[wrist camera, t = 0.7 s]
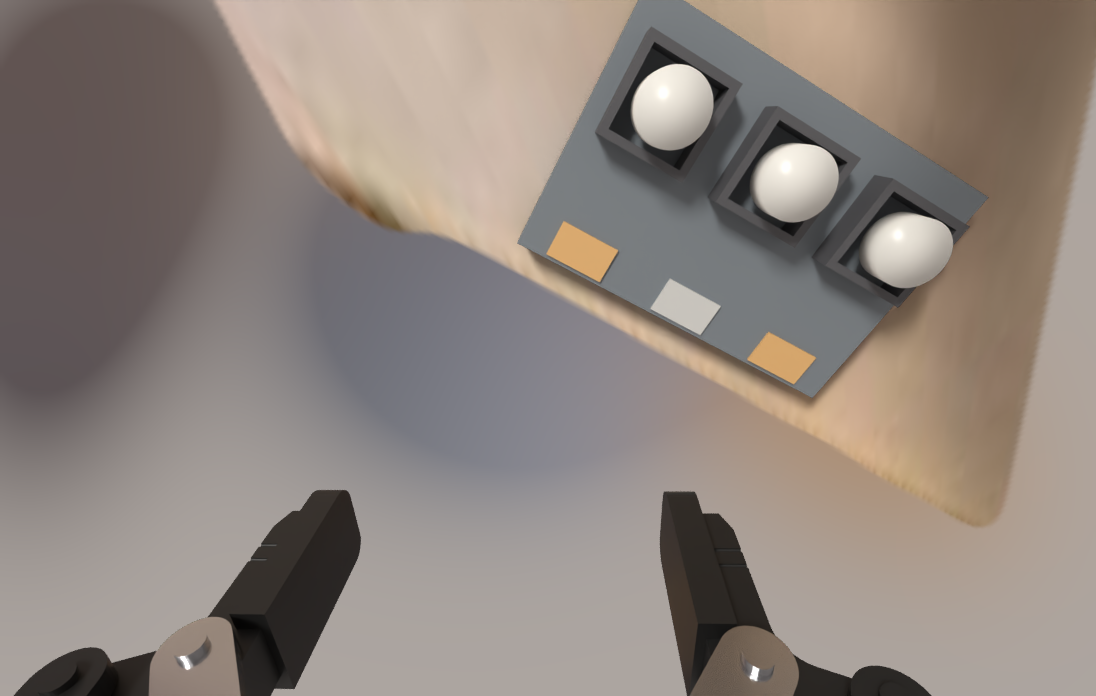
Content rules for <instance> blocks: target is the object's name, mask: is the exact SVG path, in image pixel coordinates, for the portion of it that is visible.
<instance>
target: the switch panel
mask: <svg viewBox="0 0 1096 696" xmlns="http://www.w3.org/2000/svg"><path fill="white" fill-rule="evenodd" d="M673 64H683V65H688V66H691V67H693V68H695V69H697V70H698V71H699V72H701V73H702V74H703V75H704V77H705V78H706V79H707V81H708V83H709V84H710V87H711V90H712V94H713V113H712V116H711V119H710V122H709V124H708V126H707V128H706V130H705V131H704V132H703V134H702V135H701V136H700V137H699V138H698V139H697V140H696V141H695V142H693V143H692V144H690V145H688V146H687V147H684V148H682V149H678V150H662V149H659V148H656V147H653V146H651V145H649V144H647V143H646V142H644V141H643V140H642V139H641V138H640V137H639V136H638V135H637V133H636V132H635V130H634V127H633V125H632V121H631V114H630V109H631V102H632V98H633V95H634V93H635V91H636V89H637V87H638V86H639V84H640V83H641V82H642V81H643V80H644V79H645V78H646V77H647V76H648V75H650V74H651V73H653V72H655V71H656V70H658V69H660V68H662V67H665V66H668V65H673ZM786 143H800V144H808V145H815V146H818V147H821V148H823V149H825V150H826V151H828V152H829V153H830V154H831V155H832V157H833V158H834V160H835V162H836V164H837V167H838V172H839V179H838V185H837V189H836V192H835V194H834V196H833V198H832V199H831V201H830V202H829V204H828V205H827V206H826V207H825V208H824V209H823V210H822V211H821V212H820V213H818V214H817V215H815V216H814V217H812V218H810V219H807V220H804V221H800V222H785V221H781V220H779V219H777V218H775V217H773V216H771V215H769V214H767V213H765V212H763V211H762V210H760V209H759V208H758V207H757V206H756V205H755V203H754V201H753V200H752V197H751V194H750V178H751V174H752V172H753V169H754V167H755V165H756V164H757V162H758V161H759V160H760V158H761V157H762V156H763V155H764V154H765V153H767V152H768V151H769V150H771V149H772V148H774V147H776V146H779V145H781V144H786ZM988 198H989V197H987V196H986V195H984V194H983V193H981V192H979V191H978V190H976V189H975V188H973V187H972V186H970V185H969V184H967V183H966V182H964V181H962V180H961V179H959V178H958V177H956V176H955V175H953V174H952V173H950V172H948V171H947V170H945V169H944V168H942V167H941V166H939V165H938V164H936V163H935V162H933V161H931V160H930V159H928V158H927V157H925V156H924V155H922V154H921V153H919V152H918V151H916V150H914V149H913V148H911V147H910V146H908V145H907V144H905V143H904V142H902V141H901V140H899V139H897V138H896V137H894V136H893V135H891V134H890V133H888V132H887V131H885V130H884V129H882V128H880V127H879V126H877V125H876V124H874V123H873V122H871V121H870V120H868V119H866V118H865V117H863V116H862V115H860V114H859V113H857V112H856V111H854V110H853V109H851V108H849V107H848V106H846V105H845V104H843V103H842V102H840V101H839V100H837V99H836V98H834V97H832V96H831V95H829V94H828V93H826V92H825V91H823V90H822V89H820V88H819V87H817V86H815V85H814V84H812V83H811V82H809V81H808V80H806V79H805V78H803V77H802V76H800V75H798V74H797V73H795V72H794V71H792V70H791V69H789V68H788V67H786V66H784V65H783V64H781V63H780V62H778V61H777V60H775V59H774V58H772V57H771V56H769V55H767V54H766V53H764V52H763V51H761V50H760V49H758V48H757V47H755V46H754V45H752V44H750V43H749V42H747V41H746V40H744V39H743V38H741V37H740V36H738V35H737V34H735V33H733V32H732V31H730V30H729V29H727V28H726V27H724V26H723V25H721V24H720V23H718V22H716V21H715V20H713V19H712V18H710V17H709V16H707V15H706V14H704V13H702V12H701V11H699V10H698V9H696V8H695V7H693V6H692V5H690V4H689V3H687V2H685V1H684V0H638V2H637V4H636V6H635V8H634V10H633V12H632V14H631V16H630V18H629V20H628V22H627V24H626V26H625V28H624V30H623V32H622V34H621V36H620V38H619V40H618V42H617V44H616V46H615V48H614V50H613V52H612V54H611V56H610V58H609V60H608V62H607V64H606V66H605V68H604V70H603V72H602V74H601V76H600V78H599V80H598V82H597V84H596V86H595V88H594V90H593V92H592V94H591V96H590V98H589V100H588V102H587V104H586V106H585V108H584V110H583V112H582V114H581V116H580V118H579V120H578V122H577V124H576V126H575V128H574V130H573V132H572V134H571V136H570V138H569V140H568V142H567V144H566V146H565V148H564V150H563V152H562V154H561V156H560V158H559V160H558V162H557V164H556V166H555V168H554V170H553V172H552V174H551V176H550V178H549V180H548V182H547V184H546V186H545V188H544V190H543V192H542V194H541V196H540V198H539V200H538V202H537V204H536V206H535V208H534V210H533V212H532V214H531V216H530V218H529V220H528V222H527V224H526V226H525V228H524V230H523V232H522V234H521V236H520V238H519V240H518V242H517V243H518V244H520V245H522V246H524V247H525V248H527V249H529V250H531V251H533V252H535V253H537V254H539V255H541V256H543V257H545V258H546V259H548V260H550V261H552V262H554V263H556V264H558V265H560V266H562V267H564V268H565V269H567V270H569V271H571V272H573V273H575V274H577V275H579V276H581V277H583V278H585V279H586V280H588V281H590V282H592V283H594V284H596V285H598V286H600V287H602V288H604V289H606V290H607V291H609V292H611V293H613V294H615V295H617V296H619V297H621V298H623V299H625V300H626V301H628V302H630V303H632V304H634V305H636V306H638V307H640V308H642V309H644V310H646V311H647V312H649V313H651V314H653V315H655V316H657V317H659V318H661V319H663V320H665V321H667V322H668V323H670V324H672V325H674V326H676V327H678V328H680V329H682V330H684V331H686V332H687V333H689V334H691V335H693V336H695V337H697V338H699V339H701V340H703V341H705V342H707V343H708V344H710V345H712V346H714V347H716V348H718V349H720V350H722V351H724V352H726V353H728V354H729V355H731V356H733V357H735V358H737V359H739V360H741V361H743V362H745V363H747V364H748V365H750V366H752V367H754V368H756V369H758V370H760V371H762V372H764V373H766V374H768V375H769V376H771V377H773V378H775V379H777V380H779V381H781V382H783V383H785V384H787V385H788V386H790V387H792V388H794V389H796V390H798V391H800V392H802V393H804V394H806V395H808V396H809V397H811V398H813V397H814V396H815V394H816V393H817V392H818V391H819V390H820V389H821V388H822V386H823V385H824V384H825V383H826V382H827V381H828V380H829V379H830V377H831V376H832V375H833V374H834V373H835V372H836V371H837V369H838V368H839V367H840V366H841V365H842V364H843V363H844V361H845V360H846V359H847V358H848V357H849V356H850V355H851V353H852V352H853V351H854V350H855V349H856V348H857V347H858V346H859V344H860V343H861V342H862V341H863V340H864V339H865V338H866V336H867V335H868V334H869V333H870V332H871V331H872V330H873V328H874V327H875V326H876V325H877V324H878V323H879V322H880V320H881V319H882V318H883V317H884V316H885V315H886V314H887V313H888V311H889V310H890V309H891V308H892V307H893V306H896V307H899V306H900V305H901V304H902V303H903V302H904V300H905V299H906V298H907V297H908V296H909V295H910V294H911V293H912V291H913V290H914V289H915V288H916V287H917V286H916V287H912V288H898V287H894V286H891V285H889V284H887V283H886V282H884V281H882V280H880V279H878V278H876V277H874V276H872V275H871V274H869V273H868V272H866V271H865V270H864V268H863V267H862V265H861V263H860V260H859V247H860V243H861V240H862V238H863V236H864V235H865V233H866V232H867V230H868V229H869V228H870V227H871V226H872V225H873V224H874V223H875V222H876V221H878V220H879V219H881V218H883V217H884V216H887V215H889V214H892V213H896V212H911V213H915V214H918V215H921V216H925V217H928V218H932V219H935V220H938V221H940V222H942V223H943V224H945V225H946V226H947V228H948V229H949V230H950V232H951V235H952V238H953V245H954V244H955V243H956V242H957V241H958V239H959V238H960V237H961V236H962V235H963V234H964V233H965V232H966V230H967V229H968V228H969V227H970V226H968V225H966V223H967V221H968V220H969V219H970V218H971V217H972V216H973V215H974V214H975V212H976V211H977V210H978V209H979V208H980V207H981V206H982V204H983V203H984V202H985V201H986V200H987V199H988Z"/></svg>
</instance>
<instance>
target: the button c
mask: <svg viewBox="0 0 1096 696" xmlns="http://www.w3.org/2000/svg"><path fill="white" fill-rule="evenodd" d="M952 249H953V238H952V235H951V232H950V230H949V229H948V228H947V226H946V225H945V224H943V223H942V222H940V221H938V220H935V219H932V218H928V217H925V216H921V215H918V214H915V213H911V212H896V213H892V214H889V215H887V216H884V217H883V218H881V219H879V220H878V221H876V222H875V223H874V224H873V225H872V226H871V227H870V228H869V229H868V230H867V232H866V233H865V235H864V236H863V238H862V240H861V243H860V247H859V260H860V263H861V265H862V267H863V268H864V270H865V271H866V272H868V273H869V274H871V275H872V276H874V277H876V278H878V279H880V280H882V281H884V282H886V283H887V284H889V285H891V286H894V287H898V288H912V287H916V286H919V285H922V284H924V283H926V282H928V281H930V280H931V279H933V278H934V277H935V276H936V275H938V274H939V273H940V272H941V271H942V269H943V268H944V267H945V265H946V264H947V262H948V261H949V259H950V256H951V253H952Z"/></svg>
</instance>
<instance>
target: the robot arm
mask: <svg viewBox="0 0 1096 696" xmlns="http://www.w3.org/2000/svg"><path fill="white" fill-rule="evenodd" d="M360 544H361V537H360V532H359V528H358V524H357V520H356V516H355V512H354V508H353V505H352V501H351V497H350V494H349V493H348V491H346V490H317V491H315V492H313V493H312V494H311V496H310V497H309V499H308V500H307V502H306V503H305V504H304V506H303V508H302V509H301V510H300V511H292V512H291V513H290V514H288V515H287V516H286V517H285V518H283V519H282V520H281V521H280V522H278V523H277V524H276V525H275V526H274V527H273V528H272V530H271V531H270V532H269V534H268V535H267V536H266V538H265V539H264V541H263V542H262V543H261V547H258V549H257V550H256V551H255V553H254V554H253V556H252V557H251V561H250V562H247V564H246V565H245V567H244V568H243V570H242V571H241V572H240V574H239V575H238V576H237V578H236V579H235V580H234V582H233V583H232V585H231V586H230V587H229V589H228V590H227V592H226V593H225V594H224V596H223V597H222V598H221V600H220V601H219V602H218V604H217V605H216V607H215V608H214V609H213V611H212V612H211V614H210V615H209V616H208V617H207V618H203V619H199V620H197V621H194V622H192V623H190V624H188V625H186V626H184V627H182V628H181V629H179V630H178V631H176V632H175V633H174V634H172V635H171V636H170V637H169V638H168V639H167V640H166V641H165V642H164V643H163V644H162V645H161V646H160V647H159V649H158V650H157V651H154V652H151V653H147V654H143V655H140V656H136V657H132V658H128V659H125V660H121V661H118V662H114V663H111V661H110V659H109V658H108V656H107V655H106V653H105V652H104V651H103V650H102V649H99V648H91V647H90V648H83V649H79V650H75V651H73V652H70V653H67V654H65V655H63V656H61V657H59V658H57V659H55V660H54V661H52V662H50V663H49V664H47V665H46V666H44V667H43V668H42V669H40V670H39V671H38V672H37V673H35V674H34V675H33V676H32V677H31V678H30V679H29V680H28V681H27V682H26V683H25V684H24V685H23V686H22V687H21V688H20V689H19V690H18V691H17V692H16V694H15V695H14V696H271V694H272V692H273V690H274V688H275V689H276V688H277V689H295V687H296V685H297V683H298V681H299V679H300V677H301V674H302V672H303V670H304V668H305V666H306V664H307V662H308V660H309V658H310V656H311V654H312V652H313V650H314V648H315V646H316V644H317V642H318V639H319V637H320V635H321V633H322V631H323V629H324V627H325V625H326V623H327V621H328V619H329V617H330V614H331V612H332V611H333V609H334V606H335V604H336V602H337V600H338V598H339V596H340V594H341V592H342V590H343V588H344V586H345V584H346V582H347V580H348V578H349V576H350V573H351V571H352V569H353V567H354V565H355V563H356V561H357V559H358V556H359V552H360ZM660 554H661V562H662V568H663V573H664V578H665V583H666V589H667V594H668V599H669V604H670V610H671V615H672V620H673V625H674V630H675V635H676V641H677V646H678V650H679V656H680V661H681V666H682V672H683V676H684V682H685V687H686V692H687V696H931V695H930V694H929V693H928V692H927V691H926V690H925V689H924V688H923V687H922V686H921V685H919V684H918V683H917V682H916V681H914V680H913V679H911V678H910V677H908V676H906V675H904V674H902V673H901V672H898V671H896V670H894V669H891V668H887V667H882V666H868V667H864V668H862V669H859V670H858V671H857V672H856V673H855V674H854V676H853V678H849V677H846V676H843V675H840V674H837V673H833V672H830V671H828V670H824V669H821V668H818V667H816V666H813V665H810V664H808V663H806V662H804V661H803V660H801V659H799V658H798V657H796V656H795V655H793V654H792V652H791V651H790V649H789V648H788V647H787V646H786V645H785V644H784V643H783V642H782V641H781V640H780V639H779V638H778V637H776V636H775V634H774V633H773V631H772V629H771V627H770V624H769V622H768V619H767V616H766V614H765V611H764V608H763V606H762V603H761V601H760V598H759V596H758V593H757V590H756V588H755V585H754V583H753V580H752V577H751V574H750V572H749V569H748V568H747V565H746V561H745V559H744V556H743V553H742V552H741V548H740V545H739V543H738V540H737V538H736V535H735V532H734V530H733V529H732V528H731V527H730V525H729V524H728V523H727V522H726V521H725V520H724V519H723V518H722V517H721V516H720V515H719V514H702V511H701V508H700V504H699V501H698V498H697V495H696V494H695V492H664V494H663V502H662V516H661V530H660Z"/></svg>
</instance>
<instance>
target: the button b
mask: <svg viewBox="0 0 1096 696" xmlns="http://www.w3.org/2000/svg"><path fill="white" fill-rule="evenodd" d="M838 179H839V172H838V167H837V164H836V162H835V160H834V158H833V157H832V155H831V154H830V153H829V152H828V151H826V150H825V149H823V148H821V147H818V146H815V145H808V144H800V143H786V144H781V145H779V146H776V147H774V148H772V149H771V150H769V151H768V152H767V153H765V154H764V155H763V156H762V157H761V158H760V160H759V161H758V162H757V164H756V165H755V167H754V169H753V172H752V174H751V178H750V194H751V197H752V200H753V201H754V203H755V205H756V206H757V207H758V208H759V209H760V210H762V211H763V212H765V213H767V214H769V215H771V216H773V217H775V218H777V219H779V220H781V221H785V222H800V221H804V220H807V219H810V218H812V217H814V216H815V215H817V214H818V213H820V212H821V211H822V210H823V209H824V208H825V207H826V206H827V205H828V204H829V202H830V201H831V199H832V198H833V196H834V194H835V192H836V189H837V185H838Z"/></svg>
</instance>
